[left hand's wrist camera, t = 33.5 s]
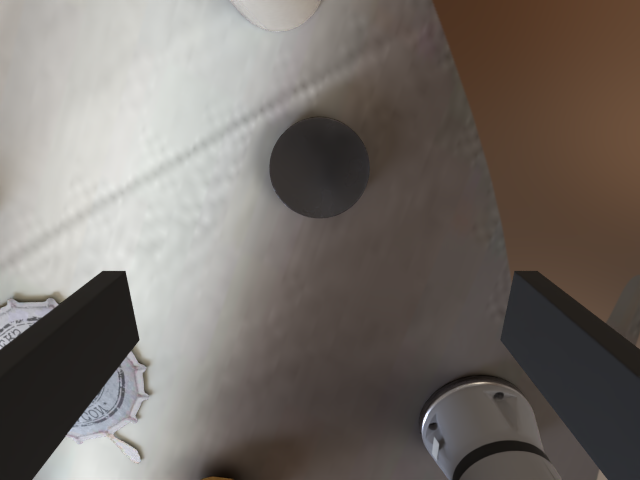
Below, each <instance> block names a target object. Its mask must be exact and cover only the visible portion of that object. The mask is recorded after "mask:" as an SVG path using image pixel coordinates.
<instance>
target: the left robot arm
mask: <svg viewBox="0 0 640 480" xmlns="http://www.w3.org/2000/svg"><path fill="white" fill-rule="evenodd" d="M138 341H139V335H138V330H137V325H136V320H135V316H134V311H133V306H132V301H131V296H130V291H129V286H128V281H127V276H126V271H102V272H101V273H100V274H98V275H97V276H96V277H94V278H93V279H92V280H90V281H89V282H88V283H86V284H85V285H84V286H83V287H81V288H80V289H79V290H77V291H76V292H75V293H73V294H72V295H71V296H69V297H68V298H67V299H66V300H64V301H63V302H62V303H60V304H59V305H58V306H56V307H55V308H54V309H52V310H51V311H50V312H49V313H47V314H46V315H45V316H43V317H42V318H41V319H39V320H38V321H37V322H35V323H34V324H33V325H32V326H30V327H29V328H28V329H26V330H25V331H24V332H22V333H21V334H20V335H18V336H17V337H16V338H15V339H13V340H12V341H11V342H9V343H8V344H7V345H5V346H4V347H3V348H1V349H0V480H32V479H33V478H34V477H35V475H36V474H37V473H38V471H39V470H40V469H41V468H42V466H43V465H44V464H45V462H46V461H47V460H48V458H49V457H50V456H51V455H52V453H53V452H54V451H55V449H56V448H57V447H58V445H59V444H60V443H61V441H62V440H63V439H64V438H65V436H66V435H67V434H68V432H69V431H70V430H71V428H72V427H73V426H74V425H75V423H76V422H77V421H78V419H79V418H80V417H81V415H82V414H83V413H84V412H85V410H86V409H87V408H88V406H89V405H90V404H91V402H92V401H93V400H94V398H95V397H96V396H97V395H98V393H99V392H100V391H101V389H102V388H103V387H104V385H105V384H106V383H107V382H108V380H109V379H110V378H111V376H112V375H113V374H114V372H115V371H116V370H117V369H118V367H119V366H120V365H121V363H122V362H123V361H124V359H125V358H126V357H127V356H128V354H129V353H130V352H131V350H132V349H133V348H134V346H135V345H136V344H137V342H138ZM501 341H502V342H503V344H504V345H505V346H506V348H507V349H508V350H509V352H510V353H511V354H512V356H513V357H514V358H515V359H516V361H517V362H518V363H519V365H520V366H521V367H522V369H523V370H524V371H525V372H526V374H527V375H528V376H529V378H530V379H531V380H532V382H533V383H534V384H535V385H536V387H537V388H538V389H539V391H540V392H541V393H542V395H543V396H544V397H545V399H546V400H547V401H548V402H549V404H550V405H551V406H552V408H553V409H554V410H555V412H556V413H557V414H558V415H559V417H560V418H561V419H562V421H563V422H564V423H565V425H566V426H567V427H568V428H569V430H570V431H571V432H572V434H573V435H574V436H575V438H576V439H577V440H578V441H579V443H580V444H581V445H582V447H583V448H584V449H585V451H586V452H587V453H588V455H589V456H590V457H591V458H592V460H593V461H594V462H595V464H596V465H597V466H598V468H599V469H600V470H601V471H602V473H603V474H604V475H605V477H606V478H607V479H608V480H640V349H639V348H637V347H636V346H635V345H633V344H632V343H631V342H629V341H628V340H627V339H625V338H624V337H623V336H622V335H620V334H619V333H618V332H616V331H615V330H614V329H612V328H611V327H610V326H608V325H607V324H606V323H604V322H603V321H602V320H601V319H599V318H598V317H597V316H595V315H594V314H593V313H591V312H590V311H589V310H588V309H586V308H585V307H584V306H582V305H581V304H580V303H578V302H577V301H576V300H574V299H573V298H572V297H571V296H569V295H568V294H567V293H565V292H564V291H563V290H561V289H560V288H559V287H557V286H556V285H555V284H554V283H552V282H551V281H550V280H548V279H547V278H546V277H544V276H543V275H542V274H540V273H539V272H538V271H515V272H514V276H513V281H512V286H511V291H510V296H509V301H508V306H507V311H506V316H505V320H504V325H503V330H502V335H501ZM419 428H420V432H421V436H422V439H423V442H424V445H425V447H426V449H427V450H428V452H429V453H430V455H431V456H432V457H433V459H434V460H435V461H436V463H437V464H438V466H439V467H440V468H441V470H442V471H443V472H444V474H445V475H446V476H447V478H448V479H449V480H562V479H561V477H560V476H559V474H558V473H557V471H556V470H555V468H554V467H553V465H552V464H551V462H550V461H549V459H548V457H547V456H546V454H545V452H544V449H543V446H542V442H541V438H540V434H539V430H538V427H537V423H536V419H535V415H534V412H533V409H532V407H531V405H530V404H529V402H528V401H527V399H526V398H525V396H524V395H523V394H522V392H521V391H520V390H519V389H518V388H517V387H516V386H514V385H513V384H511V383H510V382H508V381H506V380H503V379H500V378H497V377H491V376H471V377H466V378H462V379H458V380H456V381H453V382H451V383H449V384H447V385H445V386H443V387H442V388H440V389H439V390H438V391H436V392H435V393H434V394H433V395H432V396H431V397H430V398H429V399H428V400H427V402H426V403H425V405H424V407H423V409H422V411H421V414H420V418H419Z"/></svg>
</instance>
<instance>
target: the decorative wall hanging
mask: <svg viewBox="0 0 640 480" xmlns="http://www.w3.org/2000/svg"><path fill="white" fill-rule="evenodd" d="M58 305H59V304H57V303H56V301H55V300H54V299H52V298H48V299H47V300H46V301H45V302H25V303H19V302H17V301H15V300H14V299H11V298H10V299H9V300H7V305H6V306H5V307H3V308H0V349H1V348H3V347H4V346H5V345H7V344H8V343H9V342H11V341H12V340H13V339H15V338H16V337H17V336H18V335H20V334H21V333H22V332H24V331H25V330H26V329H28V328H29V327H30V326H32V325H33V324H34V323H35V322H37V321H38V320H39V319H41V318H42V317H43V316H45V315H46V314H47V313H49V312H50V311H51V310H52V309H54V308H55V307H56V306H58ZM144 371H146V367H145V365H142V364H140V363H138V361H137V359H136V358H135V356H134V354H133V353H132V352H130V353H129V354H128V356H127V357H126V358H125V359H124V361H123V362H122V363H121V365H120V366H119V367H118V369H117V370H116V371H115V372H114V374H113V375H112V376H111V378H110V379H109V380H108V382H107V383H106V384H105V385H104V387H103V388H102V389H101V391H100V392H99V393H98V395H97V396H96V397H95V398H94V400H93V401H92V402H91V404H90V405H89V406H88V408H87V409H86V410H85V412H84V413H83V414H82V415H81V417H80V418H79V419H78V421H77V422H76V423H75V425H74V426H73V427H72V428H71V430H70V431H69V432H68V434H67V435H66V436H68V437H71V438H73V439H72V440H74V441H76V443H77V444H82V443H83V441H84V440H86V439H93V438H98V437H102V436H106V437H108V438H110V439H111V440H112V441H113V442H114V443H115V444H116V445H117V446H118V447H119V448H120V449H121V451H122V452H123V453H124V454H125V455H126V456H127V457H128V458H129V459H130V460H131V461H133V462H134V463H140V462H141V460H140V455H139V454H138V451H137V450H136V449H135V448H133V447H131V446H130V445H128V444H127V443H125V442H123V441H121V440H119V439H117V438H116V437H115V436H114V432H116V431H117V430H118V429H120V428H122V427H123V426H125V425H126V424H127V423H129V422H132V423H137V419H136V413H137V411H138V409H139V407H140V405H141V403H142V401H143V400H147V399H148V398H149V395H148V394H146V393H145V392H144V382H143V372H144Z"/></svg>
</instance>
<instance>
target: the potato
mask: <svg viewBox="0 0 640 480" xmlns="http://www.w3.org/2000/svg"><path fill="white" fill-rule="evenodd" d="M201 480H233V479H229V478H221V477H208V478H204V479H201Z"/></svg>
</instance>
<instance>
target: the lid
mask: <svg viewBox="0 0 640 480" xmlns="http://www.w3.org/2000/svg"><path fill="white" fill-rule="evenodd" d="M369 170H370V166H369V158H368V154H367V151H366V148H365V146H364V144H363V142H362V141H361V139H360V138H359V136H358V135H357V134H356V133H355V132H354V131H353V130H352V129H351V128H349V127H348V126H347V125H345V124H343V123H342V122H340V121H337V120H335V119H331V118H326V117H313V118H308V119H304V120H302V121H299V122H297V123H296V124H294V125H292V126H291V127H290V128H289V129H287V130H286V131H285V132H284V133H283V134H282V135H281V137H280V138H279V139H278V141H277V142H276V144H275V146H274V148H273V151H272V154H271V158H270V177H271V182H272V185H273V187H274V190H275V192H276V193H277V195H278V197H279V198H280V199H281V200H282V202H283V203H284V204H285V205H286V206H288V207H289V208H290V209H292V210H293V211H295V212H297V213H299V214H301V215H303V216H307V217H312V218H328V217H332V216H336V215H338V214H341V213H343V212H344V211H346V210H348V209H349V208H350V207H352V206H353V205H354V204H355V203H356V202H357V201H358V199H359V198H360V197H361V195H362V194H363V192H364V190H365V188H366V185H367V182H368V178H369Z"/></svg>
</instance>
